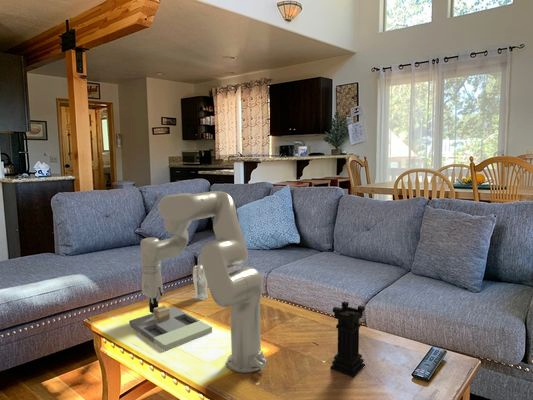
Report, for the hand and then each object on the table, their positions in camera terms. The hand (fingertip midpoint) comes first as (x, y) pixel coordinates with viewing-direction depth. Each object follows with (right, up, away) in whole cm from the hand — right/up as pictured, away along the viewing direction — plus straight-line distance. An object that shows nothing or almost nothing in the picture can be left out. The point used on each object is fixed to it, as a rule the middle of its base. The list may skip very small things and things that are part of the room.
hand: (154, 311), depth 167 cm
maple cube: (+4, -2, -4) cm, 6 cm away
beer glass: (+16, 0, +23) cm, 28 cm away
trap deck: (+8, -4, -8) cm, 13 cm away
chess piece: (+72, -8, -38) cm, 82 cm away
